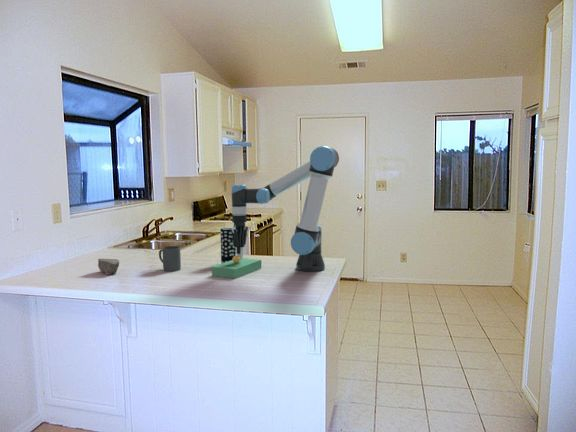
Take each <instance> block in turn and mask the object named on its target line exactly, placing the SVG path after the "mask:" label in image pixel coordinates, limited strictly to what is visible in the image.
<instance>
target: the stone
mask: <svg viewBox="0 0 576 432" xmlns="http://www.w3.org/2000/svg"><path fill="white" fill-rule="evenodd" d="M97 266H98V269H99V271H100V272H101V273H105V275H106V276H109V277H110V276H112V275H113V276H114V275H116V273H117V271H118V269H119V266H120V260H119V259H117V258H98V262H97Z"/></svg>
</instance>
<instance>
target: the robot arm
mask: <svg viewBox="0 0 576 432" xmlns="http://www.w3.org/2000/svg"><path fill="white" fill-rule="evenodd" d="M339 161H340V155H339V153H338V151H337V150H336V149H335V148H333V147H331V146H326V145H320V146H317V147H315V148H314V149H313V150H312V151H311V153H310V156H309V161H308V162H305V163H304V164H302V165H301V166H299V167H297V168H295V169H294V170H292V171H290V172H288V173H287V174H285V175H283V176H282V177H279V178H277V179H276V180H274V181H272V182H271V183H269V184H267V185H265V186H264V187H260V188H247V185H246V184H233V185H232V186H231V193H230V194H231V214H232V215H231V222H232V223H233V227H232V228H233V229H231V233H232V237H233V244H234V247H236V255H237V256H239V257H240V260H243V258H244V248H246V245H247V243H246V242H247V235H248V234H247V233H248V230H249V226H246V222H247V213H248V211H247V210H248V209H247V204H258V205H259V204H260V205H262V204H268V203H269V202H270V201H272V200H273V199H274V198H276V197H278V196H279V195H281V194H283V193H285V192H286V191H288V190H291V189H292V188H294V187H296V186H298V185H299V184H301V183H304V181H306V180H309V182H308V183H309V184H308V186H307V191H306V195H305V200H304V205H303V209H302V212H301V213H302V214H301V217H300V221H299V223H297V224H296V226H295V229H294V234H293V235H292V237H291V239H290V246H291V249H292V250H293V252H294V253H296V254H298V258H297V260H296V265H295V266H296V267H295V268H296V269H297V271H301V272H318V271H319V272H320V271H324V270H325V268H326V264H325V261H324V258H323V255H322V233H323V232H322V227H321V226H320V225H318V223H319V219H320V215H321V210H322V207H323V202H324V198H325V195H326V189H327V187H328V182H329V179H330V178H332V177H333V174H334V170H335V168H336V167H338V166H337V165H338V164H339Z"/></svg>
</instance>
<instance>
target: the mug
mask: <svg viewBox="0 0 576 432" xmlns="http://www.w3.org/2000/svg"><path fill="white" fill-rule="evenodd" d="M158 257H159V260H160V262H161V263H162V268H163V269H162V270H163V271H164V272H177V271H180V270H181V267H182V265H181V264H182V263H181V262H182V259H181V247H180V246H178V245H170V246H169V245H167V246H163V247H162V249H159V251H158Z"/></svg>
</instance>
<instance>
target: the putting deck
mask: <svg viewBox="0 0 576 432" xmlns="http://www.w3.org/2000/svg"><path fill="white" fill-rule="evenodd" d="M260 269H262V259H257V258H256V259H255V258H245V257H243V260H240V262H239V263H234V262H233V260H231V261H228V262H225V263H222V264H221V263H218V264H216V265H213V266H211V276H212V277H218V276H219V277H220V278H226V277H227V278H228V279H235V278H236V279H238V278H241V277H244V276H246V275H249V274H251V273H252V272H255V271H258V270H260ZM245 274H246V275H245ZM240 276H241V277H240Z"/></svg>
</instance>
